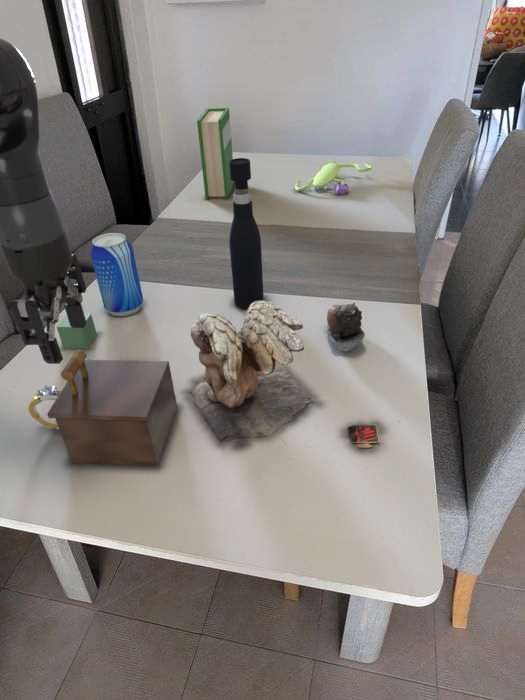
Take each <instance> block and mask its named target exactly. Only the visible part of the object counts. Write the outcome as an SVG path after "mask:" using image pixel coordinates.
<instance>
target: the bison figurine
mask: <svg viewBox="0 0 525 700" xmlns="http://www.w3.org/2000/svg"><path fill="white" fill-rule="evenodd" d="M362 313H363V311H361V310H360V309H359V307H358V306H356V303H355V302H353V303H347V304H332V305H331V306H330V307H329V308H328V309H327V314H326V322H327V326H326V333H327V335H328V337H329V342H330V343H331V344H332V346H333V347H334V348H336V349H338V350H339V351H340V352H348V351H351V350H353V349H355V348H356V347H357V346H358V345H359V344H360V343H362V341H363V339H364V338H365V336H366V334H365V332H364V330H363V328H362V320H363V316H362Z"/></svg>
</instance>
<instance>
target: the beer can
mask: <svg viewBox="0 0 525 700" xmlns="http://www.w3.org/2000/svg"><path fill="white" fill-rule="evenodd" d="M91 241H92V247H91V249H90V258H91V261H92V265H93V269H94V273H95V278H96V281H97V286H98V289H99V293H100V297H101V301H102V305H103V308H104V310H106V311H107V312H108V313H109V314H110V315H112V316H115V317H126V316H130V315H133V314H135V313H137V312H138V311H140V309H141V307H142V305H143V303H144V296H143V292H142V291H143V290H142V285H141V282H140V277H139V273H138V266H137V262H136V257H135V253H134V248H133V245H132V244H131V242H129V240H128V239H127V237H126V235H125V234H124V233H120V232H109V233H104V234H100V235H98V236H96V237H94V238H93V240H91Z"/></svg>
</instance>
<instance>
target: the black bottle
mask: <svg viewBox="0 0 525 700" xmlns="http://www.w3.org/2000/svg"><path fill="white" fill-rule="evenodd" d="M229 166H230V179H231V180H232V181H234V192H233V195H232V196H233V202H232V211H233V218H232V220H231V226H230V230H229V238H228V244H229V245H228V246H229V257H230V268H231V280H232V290H233V291H232V292H233V303H234V305H235V307H237V308H238V309H241V310H248V308H249V306H250V305H251V304H252V303H253V302H255V301H265V299H264V276H263V258H262V257H263V256H262V238H261V234H260V230H259V226H258V224H257V222H256V218H255V216H254V211H253V201H252V200H251V199H252V198H251V192H250V190H249V182H248V181H250V180H251V179H252V172H251V160H250V158H245V157H237V158H233V159H232V160H230V161H229Z"/></svg>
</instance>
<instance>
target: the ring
mask: <svg viewBox="0 0 525 700" xmlns="http://www.w3.org/2000/svg"><path fill="white" fill-rule="evenodd" d="M43 386H44V387H42V388H40V389H36V392H35V393H34V394H33V396H32V398H31V400H30V403H29V405H28V407H27V409H28V413H29V415H30V416H31V418H32V419H34V420H35V421H36V422H38V423H39V424H41V425H43V426H45V427H48V428H51V429H56V430H58V431H60V430H59V427H58V424H57V422H56V421H52V420H49V419H47V418H45V417H43V416H42V415H41V414H40V413H39V412H38V410H37V407H36V406H37V405H39V404H41V403H43V402H45V401H56V399H57V398H58V396H59V394H60V393H61V391H62V390H60V389H58V388H57V387H56V386H54V385H46V384H45V385H43Z"/></svg>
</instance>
